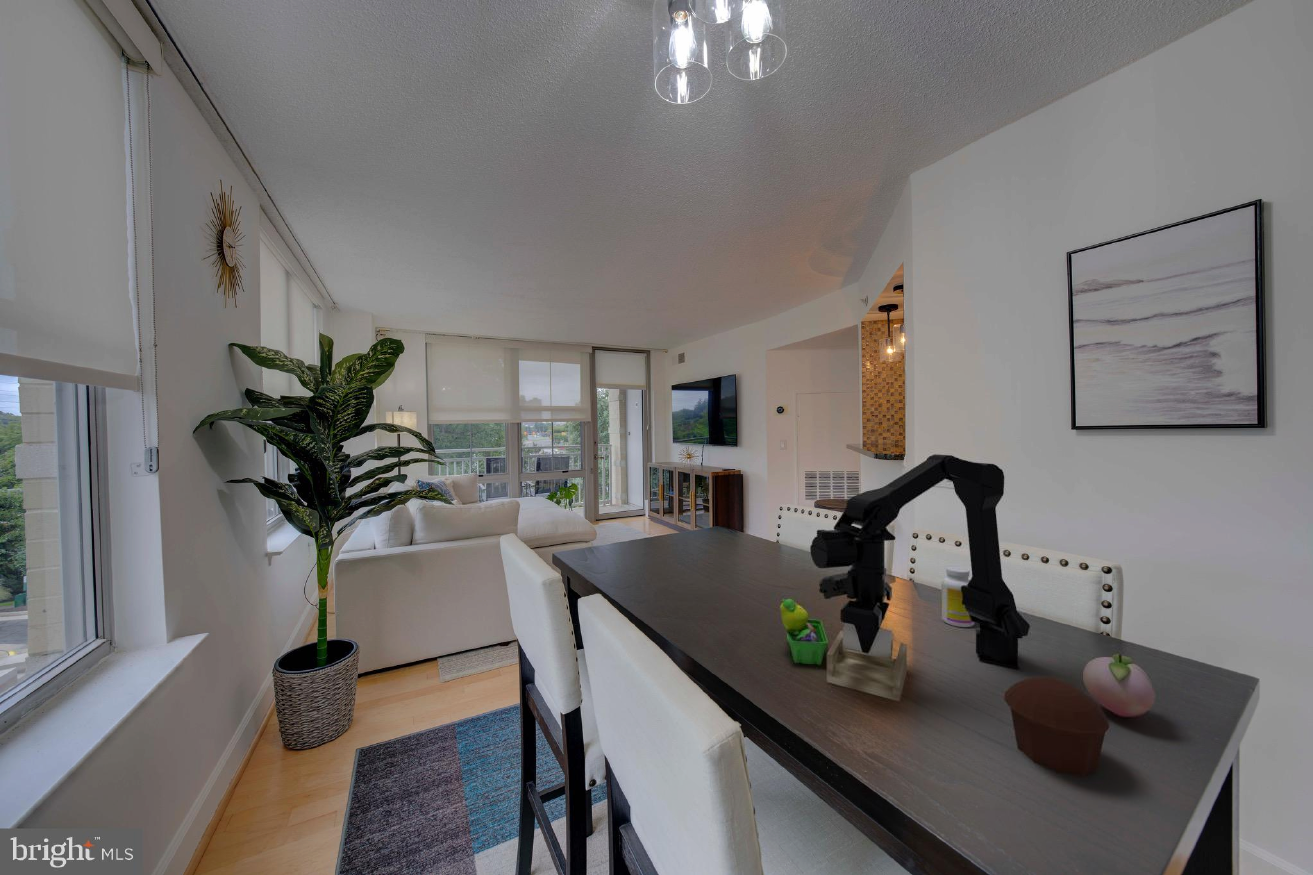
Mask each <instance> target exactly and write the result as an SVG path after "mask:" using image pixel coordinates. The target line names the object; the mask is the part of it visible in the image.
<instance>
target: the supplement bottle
mask: <svg viewBox="0 0 1313 875" xmlns="http://www.w3.org/2000/svg"><path fill="white" fill-rule="evenodd" d="M945 574H946V575H947V576H946V577H943V578H942V580H941V620H942V621H943V622H944V623H946V624H948V625H950V626H953V627H959V628H970V627H973V626H974V625H975V622H972V621H971V619H970V616H969V613H968V612H967V611H966V609H965V605H963V604H962V592H961V586H962V585H967V584H968V583H969V581H970V580H971V579H969V577H970V570H969V569H968V568H966V567H960V566H953V565H952V566H947V567H946V569H945Z"/></svg>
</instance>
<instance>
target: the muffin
mask: <svg viewBox="0 0 1313 875" xmlns="http://www.w3.org/2000/svg"><path fill="white" fill-rule="evenodd" d="M1003 697H1004V699H1003V700H1004V702H1006V704H1007V705H1008V706H1009V707H1010V712H1011V717H1012V723H1013V728H1014V729H1013V730H1014V736H1015V741H1016V746H1017V749H1018V750H1019V751H1020V752H1022V753H1023V754H1024V755H1026V756H1027V758H1028V759H1030V760H1031V761H1032V762H1033V763H1036V764H1038V765H1041V766H1042V767H1045V768H1048V769H1050V770H1052V771H1054V772H1056V773H1058V774H1066V775H1067V774H1068V775H1072V776H1078V777H1085V776H1087V775H1088V774H1091V773H1095V772H1097V769H1098V766H1099V761H1100V758H1101V757H1100V756H1101V752H1102V748H1103V745H1104V739H1105V735H1106V732H1107V731H1108V730H1109V728H1110V723H1109V719H1108V717H1107V716H1106V715H1105V712H1104V711H1103V710H1102V708H1101V706H1099V704H1098V703H1097V702H1096V700H1094V698H1093V699H1092V697H1090V696H1089V695H1088V694H1086V693H1085V692H1084V691H1083V690H1081V689H1080V688H1078V687H1076V686H1074V685H1072V684H1070V683H1069V682H1066V681H1063V680H1060V679H1056V678H1052V677H1051V678H1050V677H1046V676H1036V677H1035V676H1034V677H1029V678H1024V679H1022V680H1020V681H1017V682H1015V683H1014V684H1012V685H1011V686H1010V687H1009V688H1008V689H1007V690H1006V691H1005V692H1004V696H1003Z"/></svg>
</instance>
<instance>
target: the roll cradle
mask: <svg viewBox="0 0 1313 875" xmlns="http://www.w3.org/2000/svg"><path fill="white" fill-rule="evenodd" d="M842 638H843V630H840V631H839V632H838V635H837V636H836V638H835V639H834V641H833V643H832V644H831V646H830V648H829V649H828V652H827V653H826V682H827V683H829V684H833V685H837V686H840V687H843V688H848V689H851V690H856V691H859V692H864V693H867V694H870V695H873V696H878V697H881V698H885V699H889V700H892V701H897V702H901V697H902V693H903V689H904V684H905V680H906V677H907V668H908V667H907V666H908V665H907V662H908V659H907V656H908V654H907V652H908V649H907V648H908V647H907V646H908V644H907V643H902V642H901V643H900V645H899V648H898V652H897V655H896V657H895V658H891V660H890V659H885V658H881V657H877V656H872V655H868V654H863V653H859V652H855V651H850V650H846V649H844V648H843V642H842Z"/></svg>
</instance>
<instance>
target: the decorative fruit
mask: <svg viewBox="0 0 1313 875" xmlns="http://www.w3.org/2000/svg"><path fill="white" fill-rule="evenodd" d="M1082 679H1083V680H1082V681H1083V684H1084V686H1085V688H1086V690H1087V691H1088V693H1089V694H1090V695H1091V698H1093V699H1095V701H1097V702H1098V703H1099V704H1100V705H1102V706H1103V707H1104V708H1105V709H1107V710H1108V711H1110V712H1112V713H1113V714H1114V715H1117V716H1119V717H1122V718H1123V717H1124V718H1129V717H1130V718H1131V717H1132V718H1133V717H1139V716H1141V715H1143V714H1145V713H1146V712H1148V711H1149V710H1150V709H1151V708H1152V707H1153V705H1154V703H1155V700H1156V692H1155V690H1154V687H1153V685H1152V682H1151V680H1150V678H1149V676H1148V674H1147V673H1146V672H1145V671H1144V670H1143V669H1142V668H1141V667H1140V666H1139V665H1137V664H1136V663H1134V660H1132V658H1130V657H1128V656H1125V655H1122V654H1119V653H1117V654H1113V655H1112V656H1111V657H1110V656H1101V657H1096V658H1093V659H1092V660H1089V662H1087V663H1086V665H1085V667H1084V669H1083V673H1082Z"/></svg>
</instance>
